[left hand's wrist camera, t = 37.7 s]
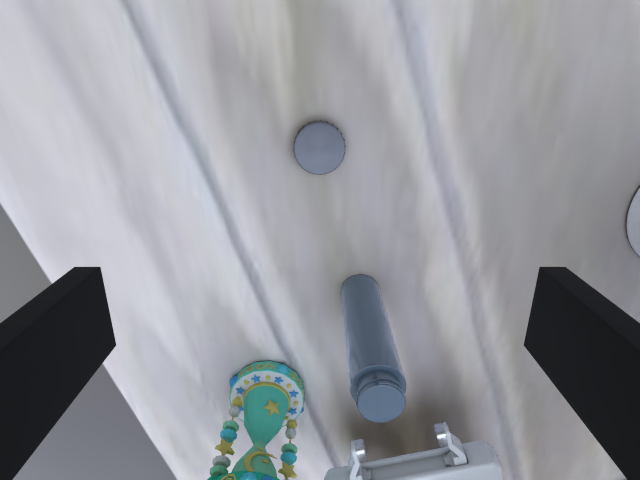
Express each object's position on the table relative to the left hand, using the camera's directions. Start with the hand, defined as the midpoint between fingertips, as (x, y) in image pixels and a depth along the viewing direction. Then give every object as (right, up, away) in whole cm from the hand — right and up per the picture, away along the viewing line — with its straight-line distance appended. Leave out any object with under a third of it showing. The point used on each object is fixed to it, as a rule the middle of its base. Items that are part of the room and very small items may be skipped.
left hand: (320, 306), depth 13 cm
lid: (0, +12, +32) cm, 34 cm away
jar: (+5, -4, +40) cm, 40 cm away
